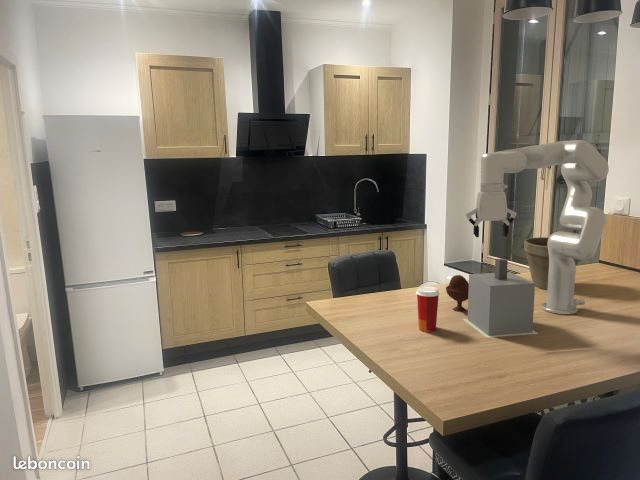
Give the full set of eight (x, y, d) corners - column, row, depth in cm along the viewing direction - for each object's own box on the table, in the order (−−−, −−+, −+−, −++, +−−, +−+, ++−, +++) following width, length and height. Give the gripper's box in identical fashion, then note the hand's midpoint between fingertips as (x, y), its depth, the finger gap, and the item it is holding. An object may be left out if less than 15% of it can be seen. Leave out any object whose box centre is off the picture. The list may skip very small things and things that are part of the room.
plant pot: (592, 293, 202) (596, 245, 198) (536, 294, 203) (539, 247, 199) (563, 279, 227) (566, 236, 223) (513, 280, 227) (515, 237, 223)
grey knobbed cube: (507, 317, 174) (510, 253, 170) (532, 332, 159) (536, 263, 154) (467, 319, 172) (469, 256, 168) (488, 335, 157) (491, 265, 152)
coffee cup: (439, 326, 168) (440, 287, 165) (437, 334, 160) (438, 293, 158) (416, 324, 171) (417, 285, 168) (413, 332, 163) (414, 291, 160)
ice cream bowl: (475, 315, 178) (476, 278, 176) (446, 314, 180) (446, 277, 178) (472, 307, 188) (473, 271, 186) (444, 306, 191) (445, 271, 188)
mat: (509, 316, 176) (509, 315, 176) (538, 334, 157) (538, 333, 157) (462, 319, 174) (462, 318, 174) (486, 338, 155) (486, 337, 155)
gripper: (513, 186, 162) (512, 234, 165) (464, 188, 164) (463, 235, 167) (520, 188, 155) (519, 237, 158) (468, 190, 157) (468, 238, 160)
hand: (490, 236), depth 163 cm, fingers open, 9 cm apart
